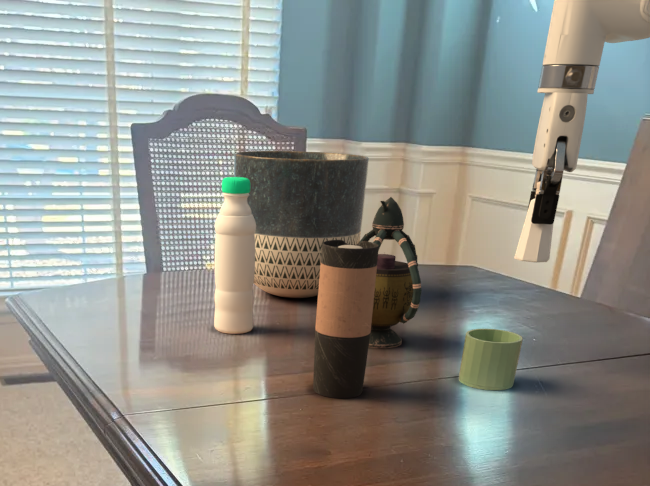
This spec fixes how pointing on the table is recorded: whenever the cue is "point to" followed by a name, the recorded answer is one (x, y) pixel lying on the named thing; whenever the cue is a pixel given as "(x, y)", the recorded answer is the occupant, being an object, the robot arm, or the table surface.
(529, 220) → the salt shaker
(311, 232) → the planter
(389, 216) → the teapot
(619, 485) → the table surface
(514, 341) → the cup
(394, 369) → the table surface
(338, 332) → the travel mug
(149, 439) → the table surface
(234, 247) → the water bottle
